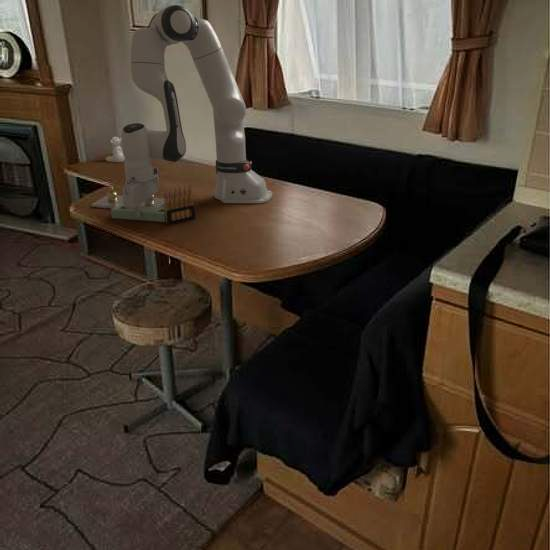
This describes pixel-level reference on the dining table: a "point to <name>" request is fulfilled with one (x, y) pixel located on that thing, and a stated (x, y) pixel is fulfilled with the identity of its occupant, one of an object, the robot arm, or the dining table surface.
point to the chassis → (114, 200)
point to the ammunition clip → (179, 206)
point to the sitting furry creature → (116, 151)
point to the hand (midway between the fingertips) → (143, 212)
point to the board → (147, 213)
